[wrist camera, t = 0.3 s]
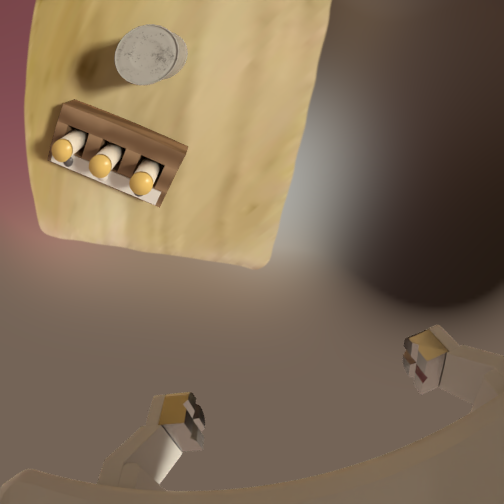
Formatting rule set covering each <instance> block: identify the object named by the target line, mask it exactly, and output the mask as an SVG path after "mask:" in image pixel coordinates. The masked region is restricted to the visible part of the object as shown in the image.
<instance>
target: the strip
mask: <svg viewBox="0 0 504 504" xmlns="http://www.w3.org/2000/svg"><path fill="white" fill-rule="evenodd" d="M51 162H54V163H56V164H58V165H61V166H63V167H66V168H68V169H70V170H73V171H75V172H78V173H80V174H82V175H85V176H87V177H90V178H92V179H94V180H97V181H99V182H101V183H104V184H106V185H109V186H111V187H113V188H116V189H118V190H120V191H123V192H125V193H127V194H130V195H132V196H135V197H137V198H139V199H142V200H144V201H146V202H149V203H151V204H153V205H156V203H157V200H158V198H159V196H160V194H161V192H160V191H158V190H156V189H153V188H152V189H151V191H150V192H149V193H148V194H146V195H137V194H135V193H134V192H133V191H132V190H131V189H130V186H129V181H130V178H128V177H125V176H123V175H120V174H118V173H116V172H113V171H110V173H109V174H108V175H107V176H106V177H104V178H97V177H95V176H93V175H92V174H91V172H90V170H89V161H87V160H85V159H82V158H80V157H77V156H75V155H72V156H71V157H70V158H69V159H68V160H67V161H65V162H58V161H57V160H55V159H54V157H53V155H52V158H51Z"/></svg>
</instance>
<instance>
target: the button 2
mask: <svg viewBox="0 0 504 504" xmlns="http://www.w3.org/2000/svg"><path fill="white" fill-rule="evenodd" d="M159 171H160V165H159V163H158V162H156V161H154V160H152V159H149V158H146V159H144V160H143V161H142V162H141V164H140V165H139V167H138V168H137V170H136V171H135V173H134V174H133V176H132V177H131V179H130V181H129V186H130V189H131V190H132V191H133V192H134V193H135V194H137V195H146V194H148V193H149V192H150V191H151V189H152V187H153V184H154V182H155V180H156V178H157V175H158V173H159Z"/></svg>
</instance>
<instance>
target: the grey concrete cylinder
mask: <svg viewBox="0 0 504 504" xmlns="http://www.w3.org/2000/svg"><path fill="white" fill-rule="evenodd" d="M187 55H188V52H187V46H186V44H185V42H184V41H183V39H182V38H181V37H179V36H178V35H176V34H174V33H172V32H170V31H169V30H168V29H166V28H164V27H162V26H159V25H154V24H152V25H143V26H139V27H137V28H135V29H132V30H131V31H130V32H128V33H127V34H126V35H125V36H124V37H123V38H122V39H121V41H120V42H119V44H118V46H117V48H116V51H115V66H116V69H117V71H118V73H119V74H120V75H121V77H122V78H124V79H125V80H126V81H128V82H130V83H132V84H136V85H149V84H154V83H156V82H158V81H160V80H163V79H167V78H169V77H172V76H174V75H175V74H177V73H178V72H179V71H180V70H181V69H182V68H183V66H184V65H185V62H186V60H187Z"/></svg>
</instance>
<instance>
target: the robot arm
mask: <svg viewBox="0 0 504 504" xmlns="http://www.w3.org/2000/svg"><path fill="white" fill-rule="evenodd" d="M404 347H405V349H406V351H405V353H404V354H403V366H404V369H405V371H406V373H407V375H408V376H409V377H411V378H414V385H415V387H416V389H417V390H418V392H419V393H420V394H421V395H422V394H424V393H426V392H429V391H431V390H433V389H435V388H438V387H439V388H440V389H442V390H444V391H446V392H448V393H450V394H452V395H454V396H456V397H458V398H460V399H462V400H464V401H466V402H468V403H470V404H472V405H473V407H472V409H471V412H470V413H469V414H468V415H466V416H464V417H463V418H461V419H459V420H457V421H456V422H454V423H452V424H450V425H448V426H446V427H444V428H442V429H441V430H439V431H437V432H435V433H432V434H431V435H428V436H426V437H424V438H422V439H420V440H418V441H415V442H413V443H411V444H409V445H406V446H404V447H402V448H399V449H397V450H395V451H392V452H389V453H387V454H384V455H382V456H379V457H376V458H373V459H370V460H367V461H364V462H361V463H358V464H355V465H352V466H349V467H346V468H342V469H339V470H335V471H332V472H328V473H324V474H320V475H316V476H311V477H307V478H303V479H298V480H293V481H288V482H282V483H276V484H270V485H263V486H257V487H248V488H239V489H227V490H212V491H166V490H165V489H164V488H163V487H162V486H161V485H159V484H160V483H161V481H162V480H163V479H164V477H165V476H166V475H167V473H168V472H169V471H170V469H171V468H172V467H173V465H174V464H175V463H176V461H177V460H178V459H179V457H180V456H181V454H182V452H189V451H200V450H203V444H204V436H203V434H202V433H201V432H202V431H203V430H204V428H205V417H204V413H203V410H202V408H201V406H199V405H198V404H196V397H195V396H194V394H193V393H192V392H186V393H176V394H167V395H155V396H154V397H153V400H152V403H151V407H150V410H149V414H148V417H147V421H146V425H145V426H142V427H140V428H139V429H138V430H137V431H136V432H135V433H134V434H133V435H132V436H131V437H130V438H128V439H127V440H126V441H125V442H124V443H123V444H122V445H121V446H120V447H119V448H117V449H116V450H115V451H114V452H113V453H112V454H111V455H110V456H109V457H107V458H106V459H105V460H104V463H103V466H102V469H101V472H100V475H99V479H98V482H97V484H94V483H88V482H83V481H78V480H72V479H69V478H64V477H60V476H56V475H52V474H49V473H45V472H41V471H38V470H35V469H26V470H24V471H22V472H20V473H19V474H17V475H16V476H14V477H13V478H11V479H10V480H8V481H7V482H5V483H4V484H3V485H2V486H1V488H0V504H504V356H502V355H499V354H495V353H491V352H487V351H484V350H480V349H476V348H473V347H469V346H465V345H462V346H460V345H459V344H458V343H457V342H456V341H455V340H454V339H453V338H452V337H451V336H450V335H449V334H448V333H447V332H446V331H445V330H444V329H443V328H442V327H441V326H439V325H436V326H433V327H431V328H428V329H427V330H424V331H422V332H419V333H417V334H414V335H412V336H409V337H407V338H405V340H404Z"/></svg>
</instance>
